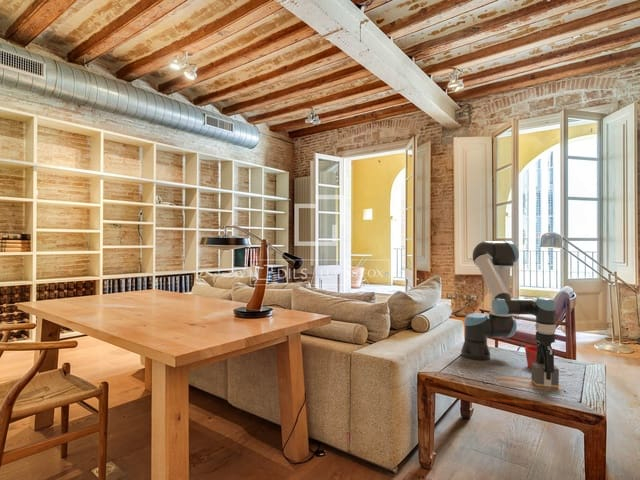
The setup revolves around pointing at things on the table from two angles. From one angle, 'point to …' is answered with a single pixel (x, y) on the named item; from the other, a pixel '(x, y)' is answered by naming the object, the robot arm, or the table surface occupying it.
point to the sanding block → (538, 375)
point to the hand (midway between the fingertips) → (544, 383)
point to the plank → (522, 383)
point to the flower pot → (531, 355)
